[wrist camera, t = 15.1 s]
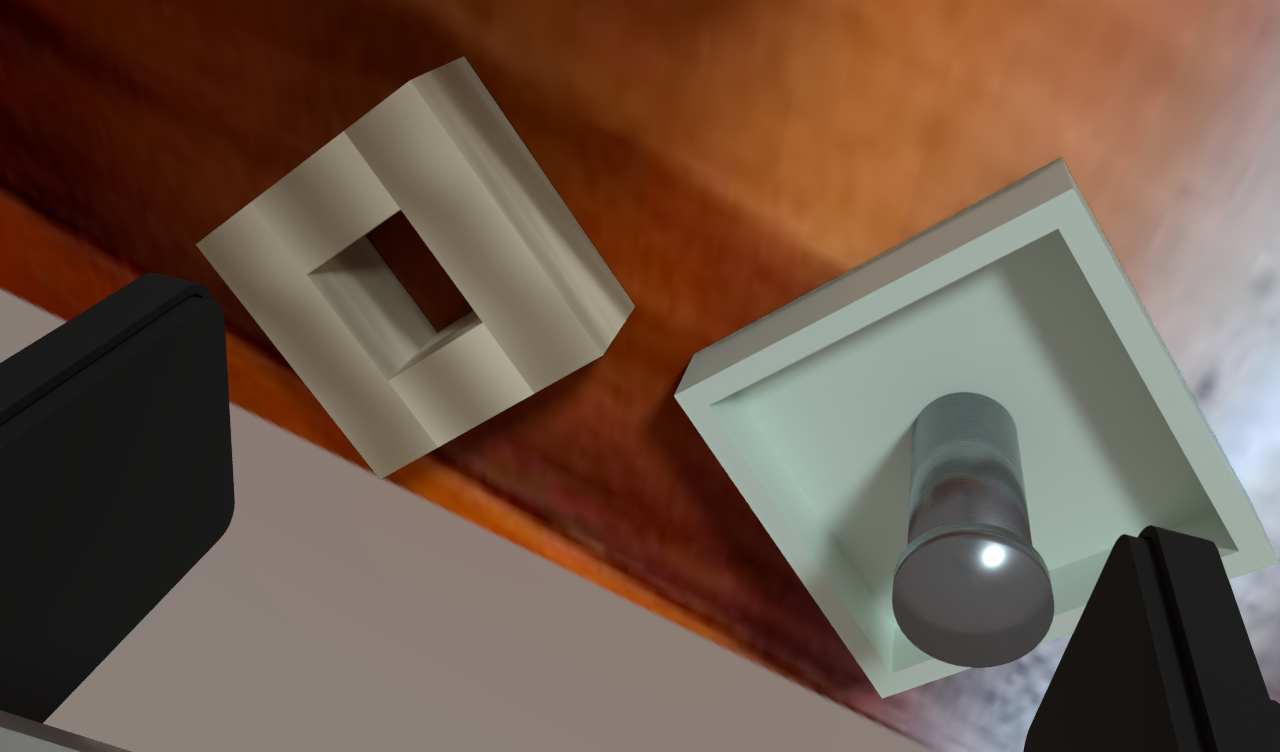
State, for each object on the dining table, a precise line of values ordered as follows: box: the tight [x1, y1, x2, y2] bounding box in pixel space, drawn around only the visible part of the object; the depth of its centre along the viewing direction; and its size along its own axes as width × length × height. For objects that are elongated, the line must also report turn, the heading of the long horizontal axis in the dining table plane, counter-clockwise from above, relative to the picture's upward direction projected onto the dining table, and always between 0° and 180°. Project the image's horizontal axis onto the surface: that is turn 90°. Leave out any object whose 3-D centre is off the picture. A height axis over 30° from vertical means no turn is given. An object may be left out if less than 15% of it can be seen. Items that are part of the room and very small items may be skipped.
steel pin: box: [892, 392, 1054, 668], centre depth 39 cm, size 5×5×11 cm
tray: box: [674, 157, 1279, 698], centre depth 43 cm, size 16×16×4 cm
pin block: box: [196, 57, 635, 480], centre depth 45 cm, size 12×12×5 cm
